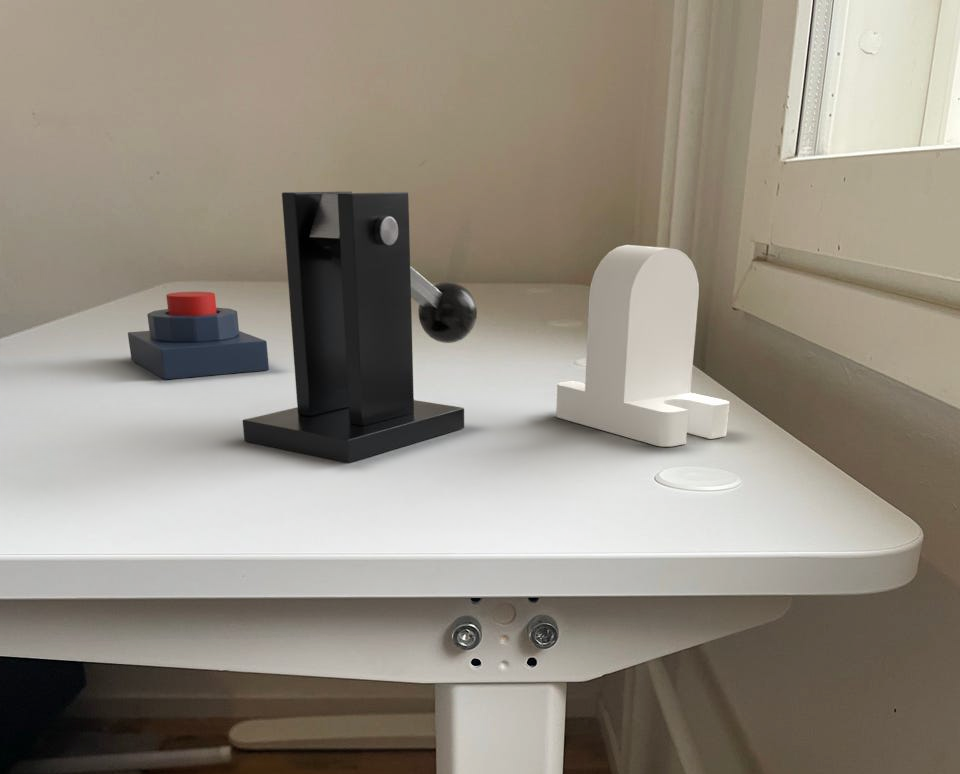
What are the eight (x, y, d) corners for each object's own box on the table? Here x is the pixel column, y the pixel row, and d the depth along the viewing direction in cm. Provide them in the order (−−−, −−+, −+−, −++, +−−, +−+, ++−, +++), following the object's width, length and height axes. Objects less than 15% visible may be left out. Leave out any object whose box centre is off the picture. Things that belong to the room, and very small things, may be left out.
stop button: (163, 316, 79) (160, 293, 78) (209, 313, 81) (206, 290, 80) (176, 321, 76) (173, 297, 76) (223, 318, 78) (221, 294, 77)
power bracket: (364, 411, 65) (353, 190, 59) (464, 428, 60) (463, 192, 55) (244, 441, 57) (220, 192, 52) (348, 463, 53) (334, 194, 48)
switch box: (131, 360, 82) (124, 308, 81) (227, 352, 86) (222, 302, 84) (164, 379, 74) (157, 322, 73) (269, 370, 78) (264, 315, 76)
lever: (432, 349, 65) (449, 296, 65) (477, 355, 63) (494, 300, 63) (295, 246, 54) (316, 182, 54) (345, 249, 52) (366, 183, 52)
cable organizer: (615, 405, 66) (625, 240, 62) (730, 435, 59) (750, 249, 55) (551, 415, 63) (557, 243, 59) (664, 447, 56) (679, 253, 52)
